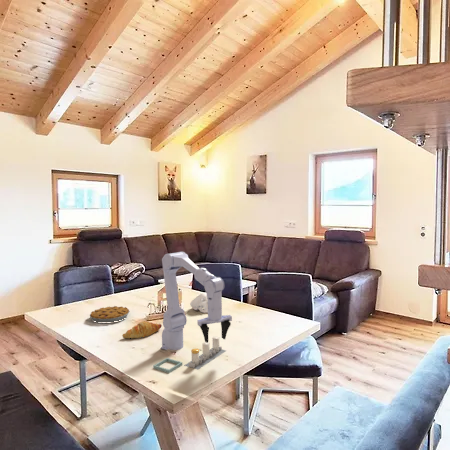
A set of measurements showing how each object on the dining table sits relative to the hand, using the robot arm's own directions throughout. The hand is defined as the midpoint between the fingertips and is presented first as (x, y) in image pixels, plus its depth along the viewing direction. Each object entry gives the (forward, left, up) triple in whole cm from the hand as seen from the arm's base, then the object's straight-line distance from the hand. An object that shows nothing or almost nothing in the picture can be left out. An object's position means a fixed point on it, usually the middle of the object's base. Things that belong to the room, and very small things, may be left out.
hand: (215, 340), depth 149 cm
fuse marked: (-5, -6, -9) cm, 12 cm away
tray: (-14, -13, -10) cm, 22 cm away
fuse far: (-5, +9, -9) cm, 14 cm away
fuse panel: (-5, +1, -10) cm, 11 cm away
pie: (-85, +18, -10) cm, 88 cm away
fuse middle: (-5, +1, -9) cm, 11 cm away
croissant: (-50, +9, -10) cm, 52 cm away
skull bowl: (-48, +57, -10) cm, 75 cm away
